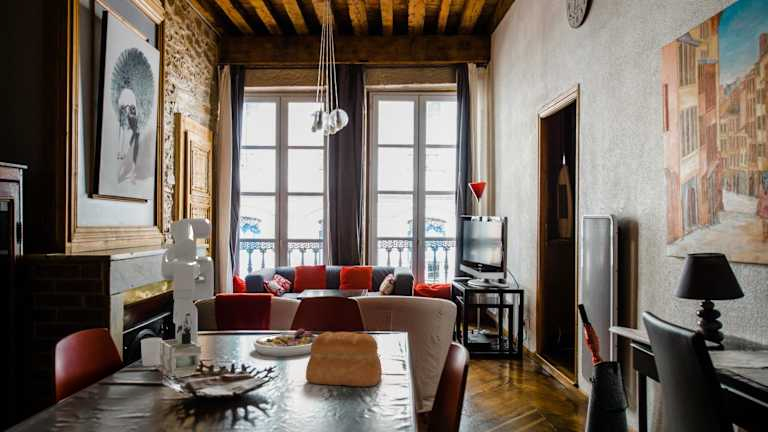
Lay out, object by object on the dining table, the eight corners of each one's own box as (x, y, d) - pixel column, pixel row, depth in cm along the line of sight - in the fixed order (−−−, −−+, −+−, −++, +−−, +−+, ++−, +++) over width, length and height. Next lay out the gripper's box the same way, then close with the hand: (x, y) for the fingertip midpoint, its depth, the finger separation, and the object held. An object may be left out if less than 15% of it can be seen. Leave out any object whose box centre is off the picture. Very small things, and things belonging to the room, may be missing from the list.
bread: (374, 389, 174) (374, 338, 175) (302, 385, 180) (302, 335, 180) (384, 376, 190) (384, 329, 190) (317, 373, 195) (317, 327, 196)
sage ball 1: (174, 344, 196) (174, 329, 196) (189, 342, 199) (189, 327, 200) (178, 346, 192) (178, 331, 192) (193, 344, 195) (193, 329, 195)
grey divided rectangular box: (156, 367, 204) (156, 341, 204) (187, 362, 211) (187, 337, 211) (171, 379, 187) (171, 350, 187) (204, 373, 194) (204, 346, 195)
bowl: (301, 361, 214) (301, 342, 214) (240, 356, 224) (240, 337, 224) (331, 345, 242) (331, 329, 243) (275, 342, 252) (275, 325, 252)
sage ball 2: (173, 369, 196) (173, 354, 196) (188, 366, 199) (188, 352, 199) (178, 372, 191) (178, 357, 191) (193, 369, 195) (193, 354, 195)
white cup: (153, 367, 205) (154, 341, 205) (136, 366, 206) (136, 341, 207) (166, 362, 213) (166, 337, 213) (149, 361, 214) (149, 337, 214)
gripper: (167, 293, 201) (167, 339, 200) (180, 297, 187) (180, 347, 186) (187, 292, 205) (186, 337, 205) (201, 296, 192) (201, 344, 191)
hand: (183, 341), depth 196 cm, fingers closed on sage ball 1, 5 cm apart
